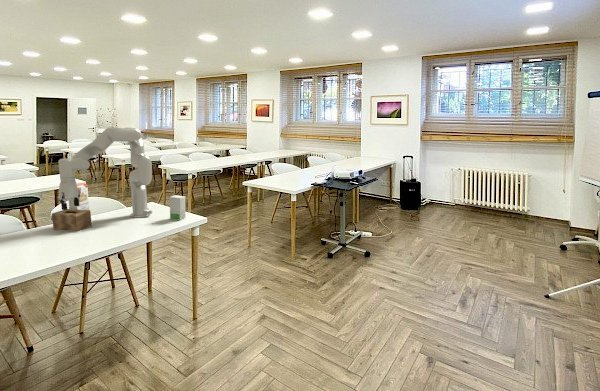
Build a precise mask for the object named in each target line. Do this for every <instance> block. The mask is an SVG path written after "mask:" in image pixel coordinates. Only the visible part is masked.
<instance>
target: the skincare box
mask: <svg viewBox="0 0 600 391" xmlns="http://www.w3.org/2000/svg"><path fill="white" fill-rule="evenodd" d="M184 218H185V219H186V196H184V195H183V196H182V195H176V194H175V195H171V196H169V219H170V220H173V221H174V220H175V221H179V220H181V221H183V220H185V219H184ZM182 219H183V220H182Z"/></svg>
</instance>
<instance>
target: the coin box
mask: <svg viewBox="0 0 600 391" xmlns="http://www.w3.org/2000/svg"><path fill="white" fill-rule="evenodd" d="M51 220H52V227H53V229H52V230H54V231H65V232H77V233H78V232H81V231H83V230H85V229H88V228H90V227H92V226H93V224H92V214H91V210H90V209H89V210H77V209H69V208H67V210H62V209H61V210H59V211H56V212H53V213H51ZM80 230H81V231H80Z"/></svg>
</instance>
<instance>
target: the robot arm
mask: <svg viewBox="0 0 600 391" xmlns="http://www.w3.org/2000/svg"><path fill="white" fill-rule="evenodd" d="M142 136H143V134H142V132H141V130H140V129H139V128H136V127H107V128H105V129H104V130H103V131H102V132H101V133H100V134H99V135H98V136H97V137H96V138H95V139H94V140H92V141H91V142H90V143H88V144H87V145H86V146H84V147H83V148H81V149H80V150H79V151H78V152H77V153H75V154H74V155H73V156H72V157H71V158H60V159H59V160H58V162H57V163H58V170H59V172H58V173H59V179H60V182H59V185H58V186H59V187H58V193H59V194H58V196H56V197H57V200H58V201H59V203H60V204H61V211H62V210H67V209H68V204H67V201H68V199H72V198H74V206H79V199H80V194H81V191H78V188H77V184H78V183H77V181H76V175H75V173H76V172H75V171H81V172H82V171H83V172H84V171H86V170H89V168H90V166H91V164H90V161H89V160H90V159H92V158H93V157H95V156H97V155H100V154H103V153H104V152H106V150H107V149H108V148H109V147H110V146H111V145H112V144H113V143H115V142H117V143H118V142H119V143H121V142H122V143H124V142H125V143H126V142H127V143H128V145H129V150H130V165H131V166H132V167H133V168H136V169H134V170H131V172H130V173H129V176H128V180H129V185H130V190H131V194H130V195H131V208H132V209H131V210H132V212H131V213H130V217H131V218H147V217H149V216H151V215H152V214H153V210H150V208H148V198H147V197H148V195H147V186H148V185H150V184H151V182H152V180H153V164H152V159H151V158H150V156H148V155H146V154H145V145H144V144H145V143H144V142H143V141H144V140H143V139H142Z"/></svg>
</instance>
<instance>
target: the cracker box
mask: <svg viewBox="0 0 600 391" xmlns="http://www.w3.org/2000/svg"><path fill="white" fill-rule="evenodd" d="M76 184H77V188H78V191H81V194H80V199H79V206H74V198H72V199H67V201H68V209H77V210H90V201H89V199H90V198H89V189H88V187H89V186H88V183H85V182H84V183H83V182H81V183H80V182H79V183H76Z"/></svg>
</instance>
